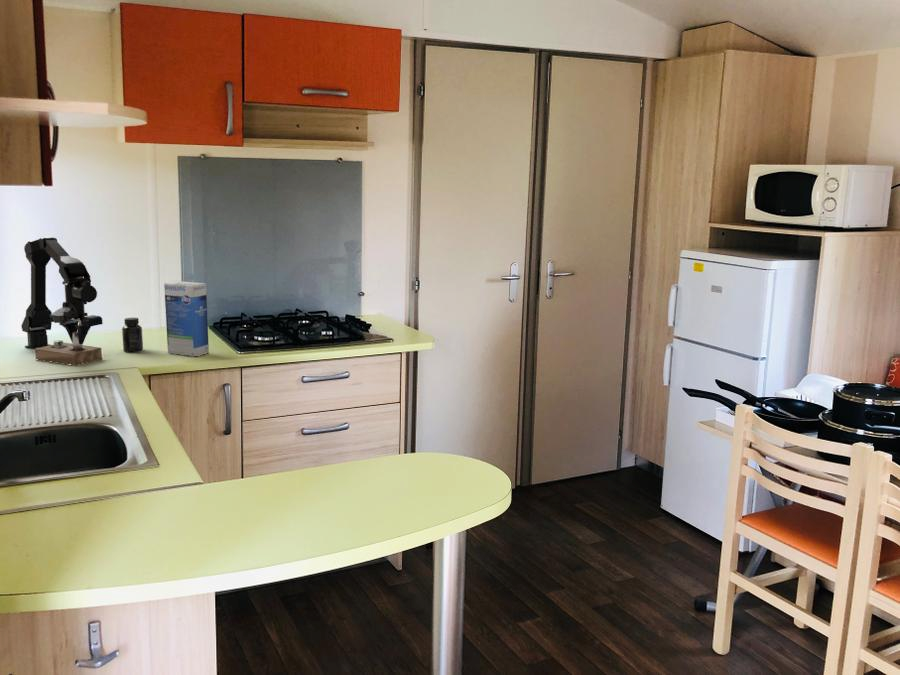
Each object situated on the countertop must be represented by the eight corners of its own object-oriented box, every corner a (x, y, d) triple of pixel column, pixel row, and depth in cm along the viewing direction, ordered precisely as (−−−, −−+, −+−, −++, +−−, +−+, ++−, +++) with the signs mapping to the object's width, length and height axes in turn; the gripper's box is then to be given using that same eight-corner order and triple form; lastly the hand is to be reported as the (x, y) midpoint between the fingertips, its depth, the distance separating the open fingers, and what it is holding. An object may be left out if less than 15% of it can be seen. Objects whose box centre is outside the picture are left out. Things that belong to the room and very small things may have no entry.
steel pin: (71, 355, 297) (70, 332, 295) (78, 353, 299) (77, 330, 298) (78, 356, 296) (76, 333, 294) (84, 354, 298) (83, 331, 297)
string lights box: (209, 353, 314) (207, 283, 308) (196, 357, 307) (193, 285, 302) (180, 349, 319) (177, 280, 313) (166, 353, 312) (163, 282, 306)
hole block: (74, 365, 291) (73, 354, 290) (35, 359, 298) (34, 348, 297) (101, 358, 302) (101, 347, 301) (63, 353, 308) (62, 342, 308)
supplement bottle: (146, 349, 318) (144, 317, 316) (138, 353, 311) (136, 320, 309) (128, 348, 319) (126, 316, 316) (119, 352, 312) (118, 319, 310)
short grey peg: (52, 358, 301) (51, 341, 299) (59, 356, 303) (58, 340, 302) (59, 359, 299) (58, 342, 298) (66, 357, 302) (64, 340, 301)
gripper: (34, 299, 290) (38, 344, 293) (76, 304, 283) (79, 351, 286) (61, 295, 300) (64, 339, 303) (102, 299, 293) (105, 344, 296)
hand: (77, 343), depth 297 cm, fingers closed on steel pin, 3 cm apart
